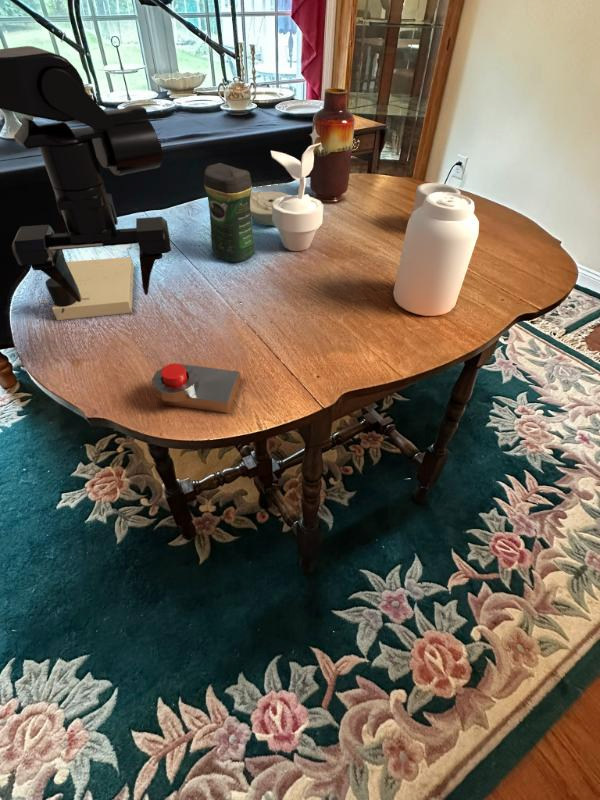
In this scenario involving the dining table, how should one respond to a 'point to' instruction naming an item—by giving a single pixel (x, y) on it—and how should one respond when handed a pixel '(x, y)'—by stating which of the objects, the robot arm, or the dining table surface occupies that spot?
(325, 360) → the dining table surface
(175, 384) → the button
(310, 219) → the potted plant
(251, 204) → the oil lamp
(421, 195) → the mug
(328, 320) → the dining table surface
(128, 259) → the beige knob base panel
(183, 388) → the block
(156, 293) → the dining table surface
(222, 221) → the coffee jar
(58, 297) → the knob
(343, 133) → the vase
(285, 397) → the dining table surface
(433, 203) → the white lidded jar
